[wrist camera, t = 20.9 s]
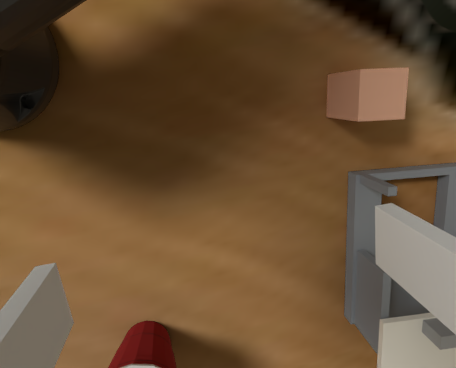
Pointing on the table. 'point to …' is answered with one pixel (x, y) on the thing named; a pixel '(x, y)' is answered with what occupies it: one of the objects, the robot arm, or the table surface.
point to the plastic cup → (145, 348)
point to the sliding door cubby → (365, 245)
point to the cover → (415, 343)
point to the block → (367, 94)
